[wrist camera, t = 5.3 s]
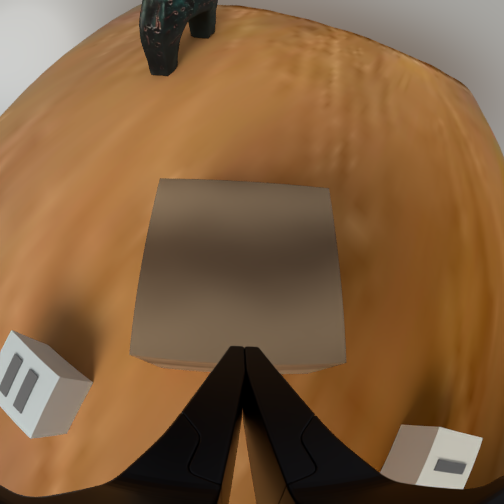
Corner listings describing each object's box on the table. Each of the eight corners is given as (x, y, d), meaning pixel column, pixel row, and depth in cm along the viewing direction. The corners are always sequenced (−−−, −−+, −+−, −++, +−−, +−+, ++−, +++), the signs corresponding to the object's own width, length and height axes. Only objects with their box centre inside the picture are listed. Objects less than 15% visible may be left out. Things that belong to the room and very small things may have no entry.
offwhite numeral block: (420, 489, 15) (458, 501, 11) (374, 482, 16) (410, 498, 11) (443, 436, 17) (484, 437, 13) (400, 424, 18) (440, 426, 13)
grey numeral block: (67, 433, 16) (29, 438, 11) (23, 393, 16) (-17, 387, 12) (93, 382, 18) (58, 376, 13) (48, 345, 19) (10, 329, 14)
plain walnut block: (306, 373, 20) (346, 362, 13) (162, 368, 19) (129, 354, 12) (302, 246, 24) (328, 188, 17) (176, 239, 24) (159, 178, 17)
